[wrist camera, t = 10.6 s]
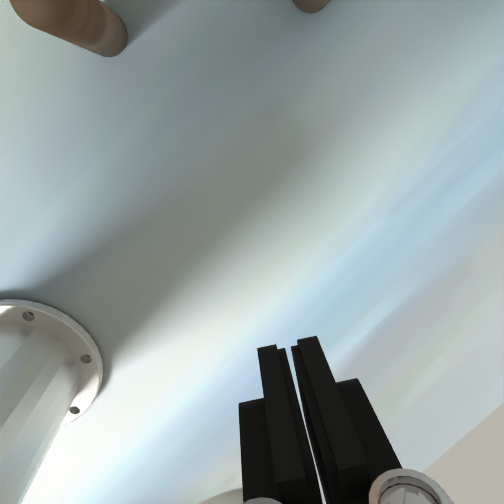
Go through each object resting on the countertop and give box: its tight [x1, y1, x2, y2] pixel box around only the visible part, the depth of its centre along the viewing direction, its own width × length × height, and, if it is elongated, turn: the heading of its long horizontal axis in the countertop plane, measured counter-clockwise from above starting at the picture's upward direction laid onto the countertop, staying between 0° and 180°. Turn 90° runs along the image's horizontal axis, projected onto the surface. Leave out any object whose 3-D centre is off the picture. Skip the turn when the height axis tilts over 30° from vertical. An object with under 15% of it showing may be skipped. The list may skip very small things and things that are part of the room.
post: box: [10, 0, 127, 57], centre depth 19 cm, size 3×3×9 cm
